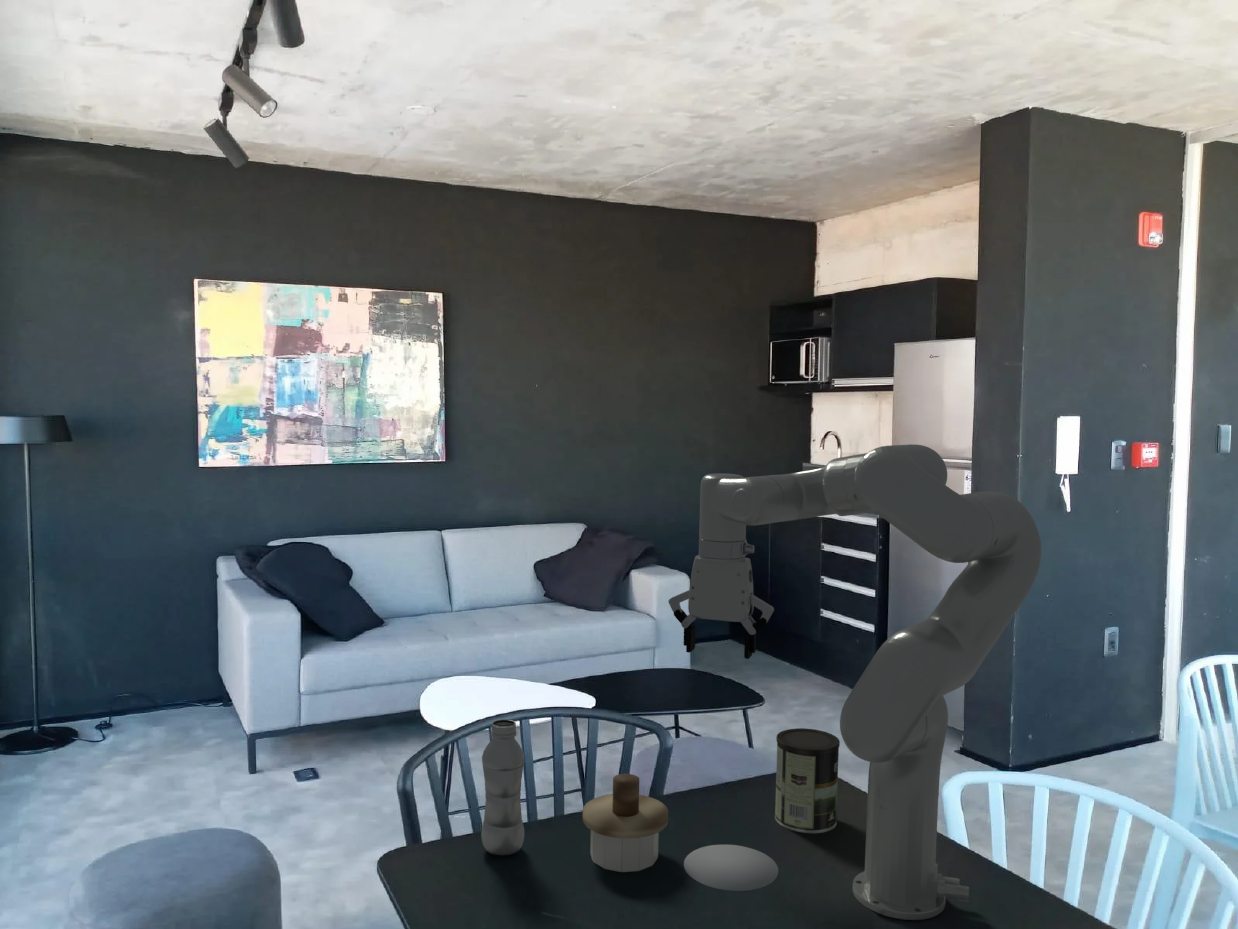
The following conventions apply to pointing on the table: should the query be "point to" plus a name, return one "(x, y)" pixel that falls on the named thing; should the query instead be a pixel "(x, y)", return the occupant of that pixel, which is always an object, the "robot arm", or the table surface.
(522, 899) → the table surface
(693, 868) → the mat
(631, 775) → the lid
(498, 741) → the plastic bottle
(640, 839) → the bowl
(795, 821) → the coffee can
